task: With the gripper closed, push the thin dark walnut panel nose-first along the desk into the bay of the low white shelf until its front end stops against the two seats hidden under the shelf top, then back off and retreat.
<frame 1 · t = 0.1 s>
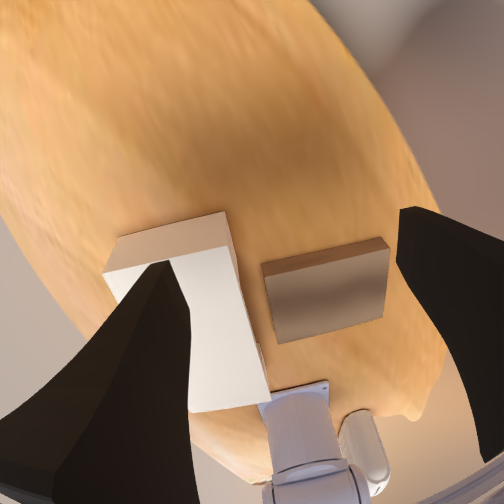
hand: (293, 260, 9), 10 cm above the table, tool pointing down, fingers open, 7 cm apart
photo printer: (352, 423, 40), on the table
walnut panel: (324, 283, 24), on the table
white shelf: (210, 313, 24), on the table
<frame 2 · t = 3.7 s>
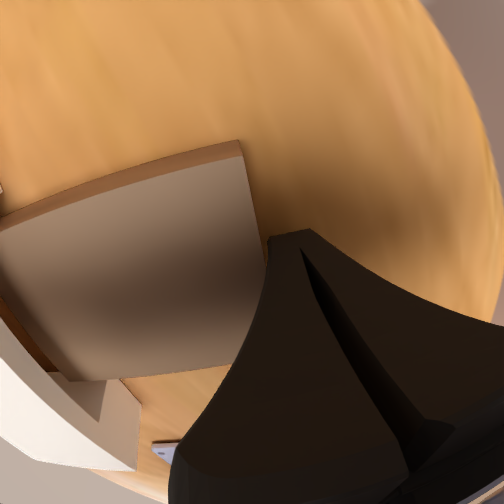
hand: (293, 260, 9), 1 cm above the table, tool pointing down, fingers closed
walnut panel: (131, 268, 10), on the table, touching gripper
white shelf: (10, 306, 10), on the table
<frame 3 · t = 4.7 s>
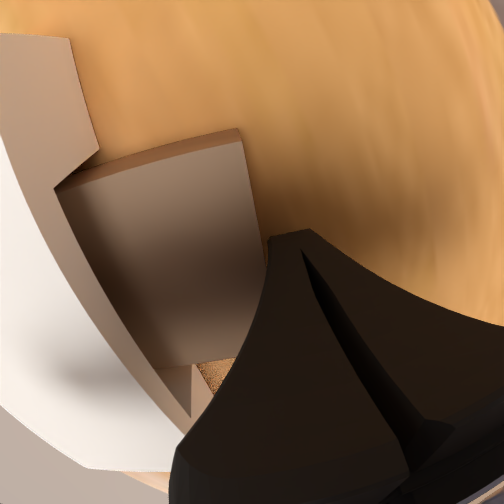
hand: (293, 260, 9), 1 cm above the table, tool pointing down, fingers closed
walnut panel: (127, 260, 10), on the table, touching gripper
white shelf: (79, 291, 10), on the table
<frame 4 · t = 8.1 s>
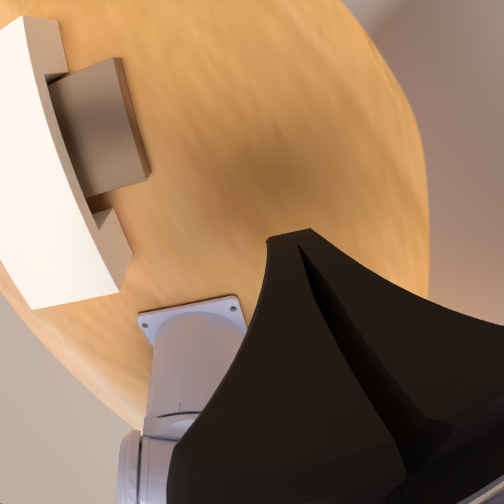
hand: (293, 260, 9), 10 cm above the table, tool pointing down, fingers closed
walnut panel: (71, 137, 16), on the table
white shelf: (49, 157, 16), on the table
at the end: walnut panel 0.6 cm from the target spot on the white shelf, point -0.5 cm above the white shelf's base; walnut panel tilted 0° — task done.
